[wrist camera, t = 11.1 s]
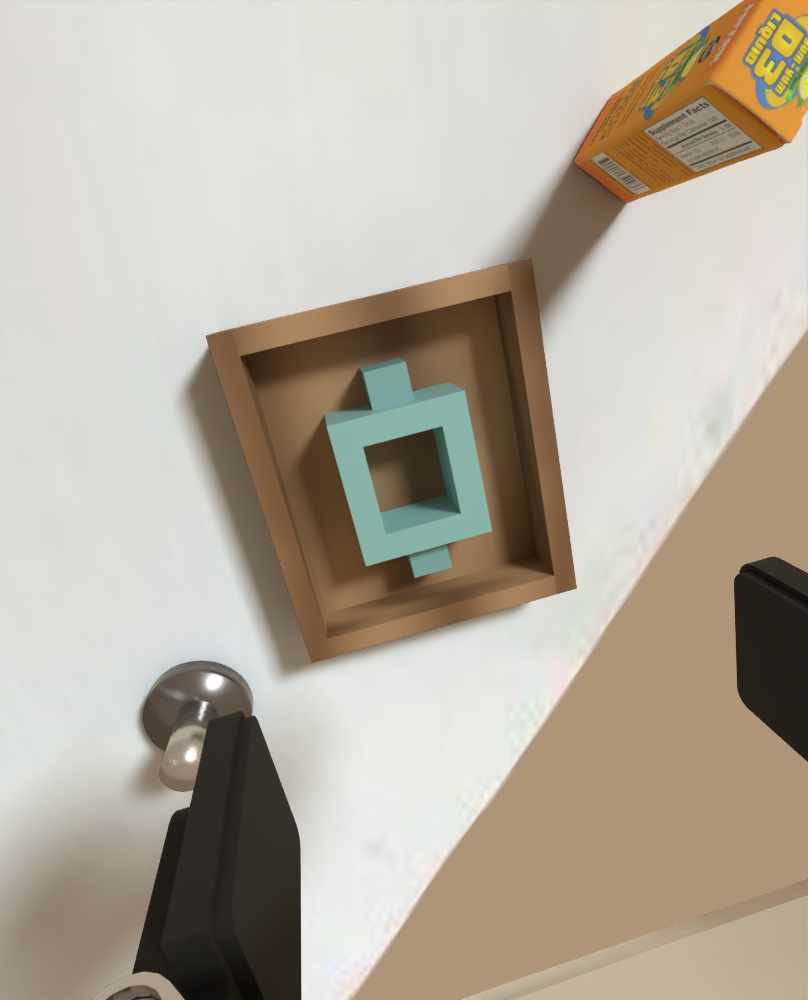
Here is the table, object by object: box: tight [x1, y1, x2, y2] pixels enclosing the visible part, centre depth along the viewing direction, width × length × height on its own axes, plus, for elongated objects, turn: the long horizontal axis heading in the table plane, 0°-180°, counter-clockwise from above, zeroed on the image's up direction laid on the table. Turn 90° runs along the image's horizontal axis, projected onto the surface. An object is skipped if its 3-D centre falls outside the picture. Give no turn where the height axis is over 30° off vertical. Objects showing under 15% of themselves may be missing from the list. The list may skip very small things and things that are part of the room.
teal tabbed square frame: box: [325, 358, 492, 578], centre depth 27 cm, size 10×6×3 cm, turn 13°
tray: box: [206, 259, 577, 663], centre depth 27 cm, size 13×15×3 cm
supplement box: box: [574, 0, 808, 203], centre depth 21 cm, size 3×3×10 cm
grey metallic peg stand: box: [143, 661, 253, 792], centre depth 29 cm, size 5×5×5 cm
